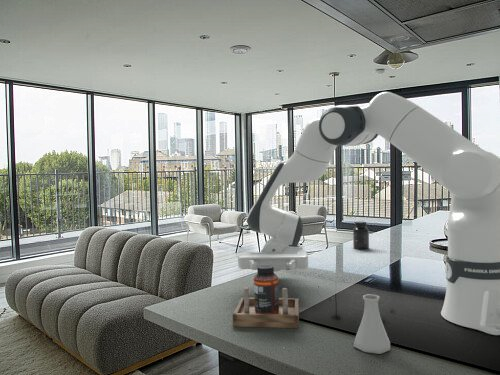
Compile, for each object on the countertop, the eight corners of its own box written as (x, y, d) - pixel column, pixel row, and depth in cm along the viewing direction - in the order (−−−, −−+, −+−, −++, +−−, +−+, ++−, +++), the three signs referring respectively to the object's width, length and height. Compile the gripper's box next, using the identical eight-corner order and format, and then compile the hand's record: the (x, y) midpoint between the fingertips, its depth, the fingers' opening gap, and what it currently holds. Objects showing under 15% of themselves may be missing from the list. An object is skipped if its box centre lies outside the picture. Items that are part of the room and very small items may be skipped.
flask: (361, 335, 81) (360, 289, 81) (396, 344, 76) (395, 295, 76) (347, 348, 75) (346, 298, 75) (383, 358, 71) (382, 305, 70)
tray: (299, 309, 98) (298, 277, 97) (298, 328, 86) (297, 291, 85) (241, 308, 100) (240, 276, 99) (232, 326, 88) (231, 290, 87)
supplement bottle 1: (277, 307, 96) (276, 262, 95) (280, 316, 90) (279, 268, 89) (254, 308, 96) (252, 263, 95) (255, 317, 90) (254, 269, 89)
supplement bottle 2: (350, 247, 175) (349, 221, 174) (361, 246, 178) (361, 220, 177) (360, 250, 169) (359, 223, 168) (372, 248, 171) (371, 222, 171)
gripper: (241, 246, 119) (233, 255, 106) (307, 245, 116) (308, 255, 103) (241, 266, 119) (234, 278, 106) (307, 266, 117) (308, 278, 103)
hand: (271, 267), depth 104 cm, fingers open, 8 cm apart
